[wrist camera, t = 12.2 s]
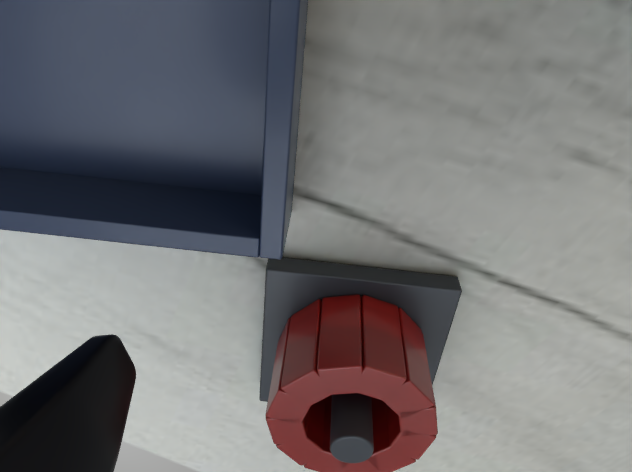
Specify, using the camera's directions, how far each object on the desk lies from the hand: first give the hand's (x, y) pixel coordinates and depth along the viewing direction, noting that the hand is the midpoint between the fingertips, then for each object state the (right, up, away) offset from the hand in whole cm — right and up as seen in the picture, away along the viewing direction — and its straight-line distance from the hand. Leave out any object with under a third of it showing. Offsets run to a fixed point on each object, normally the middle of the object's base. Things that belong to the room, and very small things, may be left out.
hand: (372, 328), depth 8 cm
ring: (+1, -4, +14) cm, 15 cm away
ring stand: (+1, -3, +15) cm, 15 cm away
